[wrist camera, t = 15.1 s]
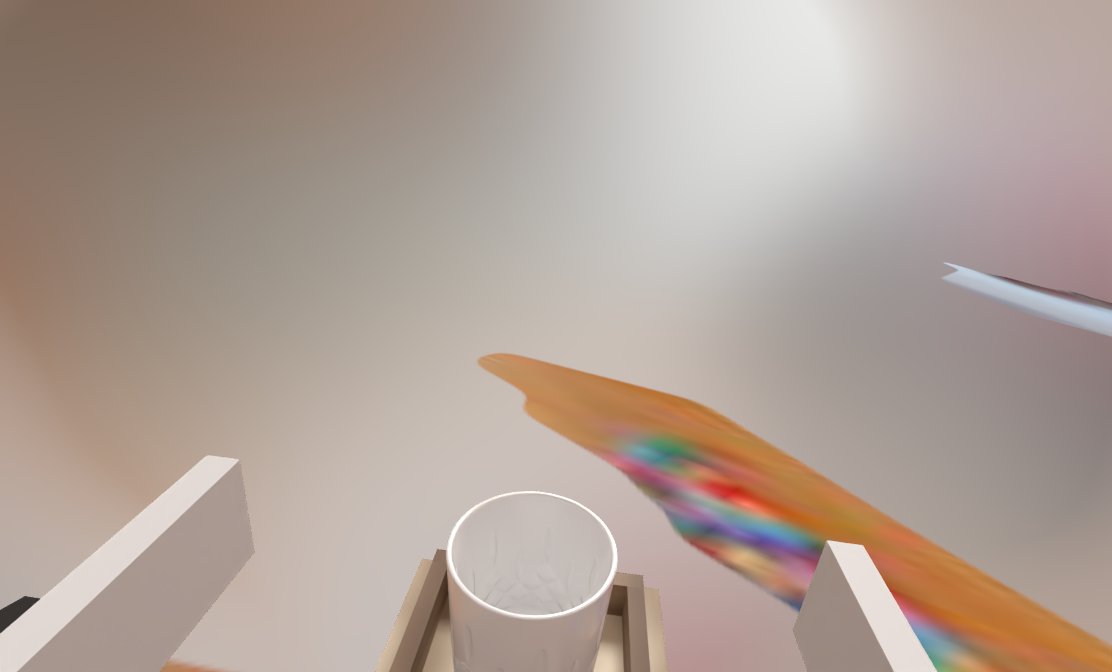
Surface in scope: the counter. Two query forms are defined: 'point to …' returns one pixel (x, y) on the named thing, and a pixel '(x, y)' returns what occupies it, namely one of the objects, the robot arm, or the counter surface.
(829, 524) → the counter surface
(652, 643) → the cup holder
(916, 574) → the counter surface
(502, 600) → the white cup
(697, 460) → the counter surface
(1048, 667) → the counter surface
